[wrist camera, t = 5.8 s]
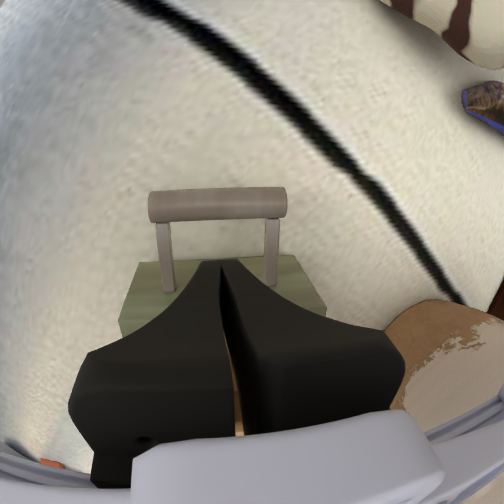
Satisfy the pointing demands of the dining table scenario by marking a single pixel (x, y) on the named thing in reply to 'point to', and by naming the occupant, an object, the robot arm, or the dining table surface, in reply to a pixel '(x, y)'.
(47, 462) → the block
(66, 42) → the dining table surface
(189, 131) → the dining table surface
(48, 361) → the dining table surface
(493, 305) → the hamburger
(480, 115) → the decorative rock
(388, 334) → the vase
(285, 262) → the drawer
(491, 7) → the sculpture
